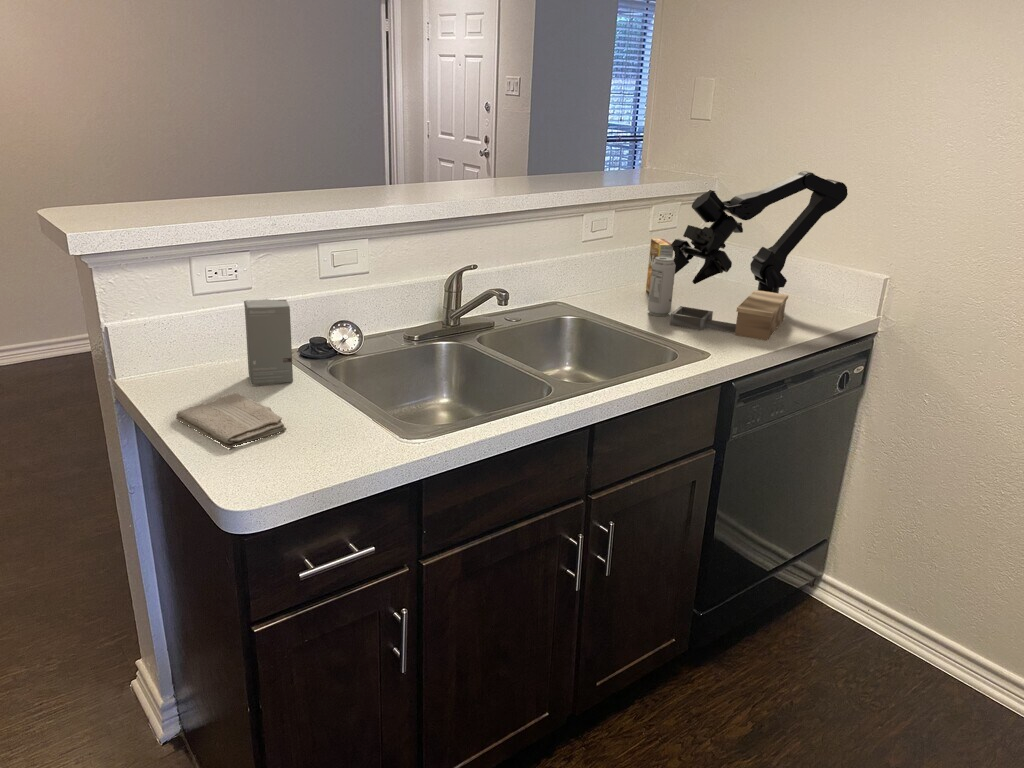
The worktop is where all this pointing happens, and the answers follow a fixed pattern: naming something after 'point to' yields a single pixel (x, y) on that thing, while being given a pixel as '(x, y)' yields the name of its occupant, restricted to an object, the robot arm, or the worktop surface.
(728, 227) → the robot arm
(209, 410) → the washcloth
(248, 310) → the skincare box
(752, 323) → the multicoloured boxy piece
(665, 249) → the candy box
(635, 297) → the worktop surface
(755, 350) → the worktop surface
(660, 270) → the energy drink can
